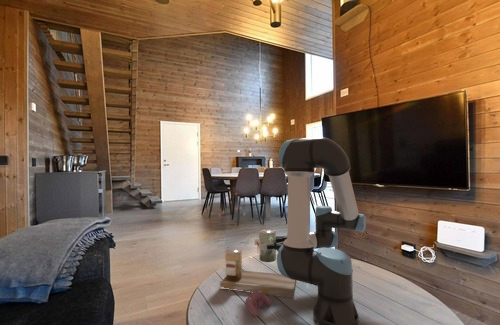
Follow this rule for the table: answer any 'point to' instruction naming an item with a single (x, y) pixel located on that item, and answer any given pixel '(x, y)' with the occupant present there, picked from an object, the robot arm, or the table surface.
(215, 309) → the table surface
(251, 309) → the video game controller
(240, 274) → the mustard tin
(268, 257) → the green tin
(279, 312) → the table surface
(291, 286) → the wooden tray
